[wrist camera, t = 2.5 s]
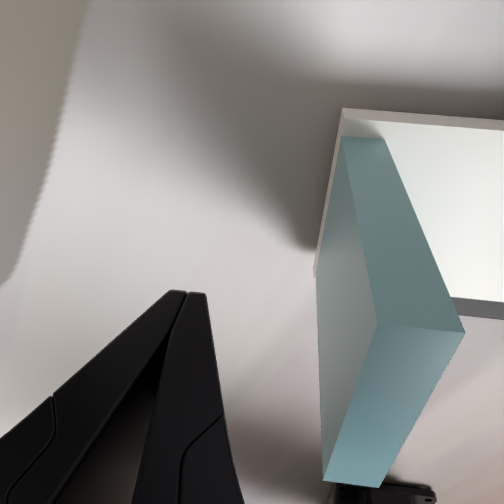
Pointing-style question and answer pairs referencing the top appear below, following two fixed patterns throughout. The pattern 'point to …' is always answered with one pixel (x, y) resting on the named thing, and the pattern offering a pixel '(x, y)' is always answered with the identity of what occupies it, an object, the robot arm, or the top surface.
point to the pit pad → (479, 308)
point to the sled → (399, 273)
